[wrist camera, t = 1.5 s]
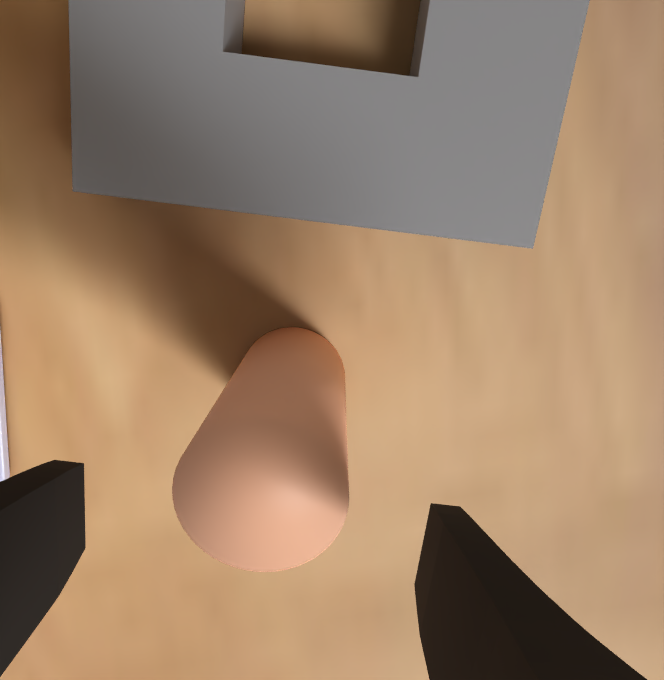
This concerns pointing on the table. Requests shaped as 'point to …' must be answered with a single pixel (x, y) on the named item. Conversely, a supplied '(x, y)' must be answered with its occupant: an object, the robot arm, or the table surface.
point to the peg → (270, 458)
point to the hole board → (326, 117)
